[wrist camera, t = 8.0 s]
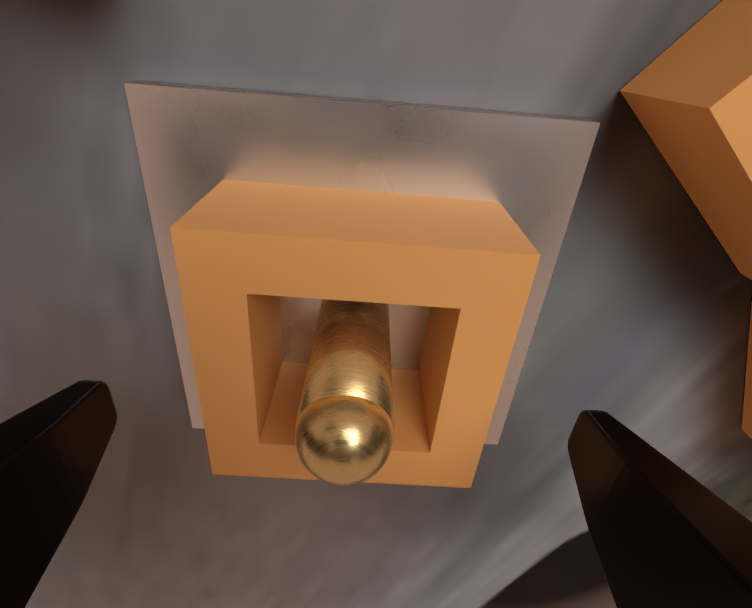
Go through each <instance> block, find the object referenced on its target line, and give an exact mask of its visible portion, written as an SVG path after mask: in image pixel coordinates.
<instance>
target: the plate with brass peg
mask: <svg viewBox="0 0 752 608" xmlns="http://www.w3.org/2000/svg"><path fill="white" fill-rule="evenodd" d="M124 85H125V91H126V96H127V101H128V106H129V111H130V116H131V121H132V126H133V131H134V136H135V141H136V146H137V151H138V156H139V161H140V166H141V171H142V176H143V181H144V186H145V191H146V196H147V202H148V207H149V212H150V217H151V222H152V227H153V232H154V237H155V242H156V247H157V252H158V257H159V262H160V267H161V272H162V277H163V282H164V287H165V292H166V297H167V302H168V308H169V313H170V318H171V323H172V328H173V333H174V338H175V343H176V348H177V353H178V358H179V363H180V368H181V373H182V378H183V383H184V388H185V393H186V398H187V403H188V408H189V414H190V419H191V424H192V428H198V429H204V423H203V417H202V411H201V405H200V399H199V394H198V388H197V382H196V376H195V370H194V365H193V359H192V353H191V347H190V341H189V336H188V330H187V324H186V318H185V312H184V306H183V301H182V295H181V289H180V283H179V277H178V272H177V266H176V260H175V254H174V248H173V243H172V237H171V231H170V227H171V226H172V225H173V224H174V223H175V222H176V221H178V220H179V219H180V218H181V217H182V216H183V215H184V214H185V213H187V212H188V211H189V210H190V209H191V208H192V207H193V206H194V205H195V204H197V203H198V202H199V201H200V200H201V199H202V198H203V197H204V196H206V195H207V194H208V193H209V192H210V191H211V190H212V189H213V188H214V187H216V186H217V185H218V184H219V183H220V182H221V181H222V180H234V181H247V182H259V183H272V184H284V185H297V186H309V187H322V188H334V189H347V190H359V191H372V192H384V193H397V194H409V195H422V196H434V197H447V198H459V199H472V200H484V201H497V202H500V203H501V205H502V206H503V207H504V208H505V210H506V211H507V212H508V214H509V215H510V216H511V217H512V219H513V220H514V221H515V223H516V224H517V225H518V227H519V228H520V229H521V230H522V232H523V233H524V234H525V236H526V237H527V238H528V239H529V241H530V242H531V243H532V245H533V246H534V247H535V249H536V250H537V251H538V252H539V254H540V255H541V256H540V259H539V263H538V266H537V269H536V273H535V276H534V279H533V283H532V286H531V289H530V293H529V296H528V299H527V303H526V306H525V309H524V313H523V316H522V319H521V323H520V326H519V329H518V332H517V336H516V339H515V342H514V346H513V349H512V352H511V356H510V359H509V362H508V366H507V369H506V372H505V376H504V379H503V382H502V386H501V389H500V392H499V396H498V399H497V402H496V406H495V409H494V412H493V415H492V419H491V422H490V425H489V429H488V432H487V435H486V439H485V442H484V444H494V445H498V442H499V439H500V436H501V433H502V430H503V427H504V423H505V420H506V417H507V414H508V411H509V408H510V405H511V402H512V398H513V395H514V392H515V389H516V386H517V383H518V380H519V376H520V373H521V370H522V367H523V364H524V361H525V358H526V354H527V351H528V348H529V345H530V342H531V339H532V336H533V333H534V329H535V326H536V323H537V320H538V317H539V314H540V311H541V307H542V304H543V301H544V298H545V295H546V292H547V289H548V286H549V282H550V279H551V276H552V273H553V270H554V267H555V264H556V260H557V257H558V254H559V251H560V248H561V245H562V242H563V238H564V235H565V232H566V229H567V226H568V223H569V220H570V217H571V213H572V210H573V207H574V204H575V201H576V198H577V195H578V191H579V188H580V185H581V182H582V179H583V176H584V173H585V170H586V166H587V163H588V160H589V157H590V154H591V151H592V148H593V144H594V141H595V138H596V135H597V132H598V129H599V126H600V122H597V121H594V120H591V119H588V118H576V117H564V116H552V115H541V114H529V113H517V112H505V111H493V110H481V109H469V108H457V107H445V106H433V105H421V104H409V103H398V102H386V101H374V100H362V99H350V98H338V97H326V96H314V95H302V94H290V93H278V92H266V91H255V90H243V89H231V88H219V87H207V86H195V85H183V84H171V83H159V82H147V81H133V82H126V83H124ZM280 300H281V327H282V354H283V362H292V363H308V368H307V373H306V377H305V382H304V387H303V391H302V396H301V401H300V406H299V410H298V415H297V420H296V425H295V434H294V435H295V445H296V449H297V453H298V455H299V457H300V459H301V461H302V463H303V464H304V466H305V467H306V469H307V470H308V471H309V472H310V473H311V474H313V475H314V476H315V477H316V478H318V479H320V480H322V481H324V482H326V483H329V484H332V485H338V486H349V485H355V484H358V483H361V482H363V481H365V480H367V479H369V478H371V477H372V476H373V475H375V474H376V473H377V472H378V471H379V470H380V469H381V468H382V467H383V465H384V464H385V462H386V461H387V459H388V457H389V455H390V453H391V450H392V446H393V442H394V413H393V392H392V370H391V369H402V370H418V371H419V370H420V364H421V358H422V352H423V346H424V340H425V334H426V328H427V322H428V316H429V311H430V307H429V306H415V305H400V304H386V303H372V302H357V301H343V300H329V299H314V298H300V297H286V296H280Z"/></svg>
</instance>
